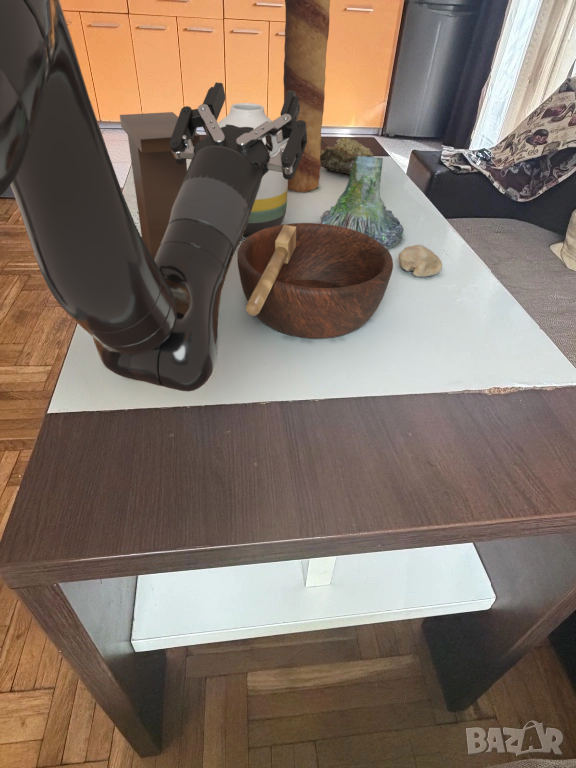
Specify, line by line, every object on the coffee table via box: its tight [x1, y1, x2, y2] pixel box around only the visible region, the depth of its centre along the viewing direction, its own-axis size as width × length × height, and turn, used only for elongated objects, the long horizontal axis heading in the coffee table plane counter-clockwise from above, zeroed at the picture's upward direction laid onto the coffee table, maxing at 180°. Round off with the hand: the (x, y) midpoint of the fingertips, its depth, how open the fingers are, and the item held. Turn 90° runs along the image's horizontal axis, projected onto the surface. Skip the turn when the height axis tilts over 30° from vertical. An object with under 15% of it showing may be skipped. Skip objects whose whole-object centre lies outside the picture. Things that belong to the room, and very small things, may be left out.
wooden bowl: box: [236, 222, 394, 340], centre depth 87 cm, size 25×25×10 cm
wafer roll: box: [282, 0, 331, 193], centre depth 124 cm, size 10×11×45 cm
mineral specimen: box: [320, 137, 375, 176], centre depth 145 cm, size 14×13×10 cm
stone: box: [398, 244, 443, 278], centre depth 102 cm, size 7×6×8 cm
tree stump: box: [319, 156, 404, 250], centre depth 114 cm, size 18×20×18 cm
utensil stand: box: [119, 111, 201, 313], centre depth 74 cm, size 12×8×30 cm, turn 25°
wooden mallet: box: [245, 224, 296, 317], centre depth 76 cm, size 20×4×2 cm
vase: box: [217, 102, 289, 236], centre depth 109 cm, size 17×17×24 cm
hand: (256, 93), depth 59 cm, fingers open, 8 cm apart
